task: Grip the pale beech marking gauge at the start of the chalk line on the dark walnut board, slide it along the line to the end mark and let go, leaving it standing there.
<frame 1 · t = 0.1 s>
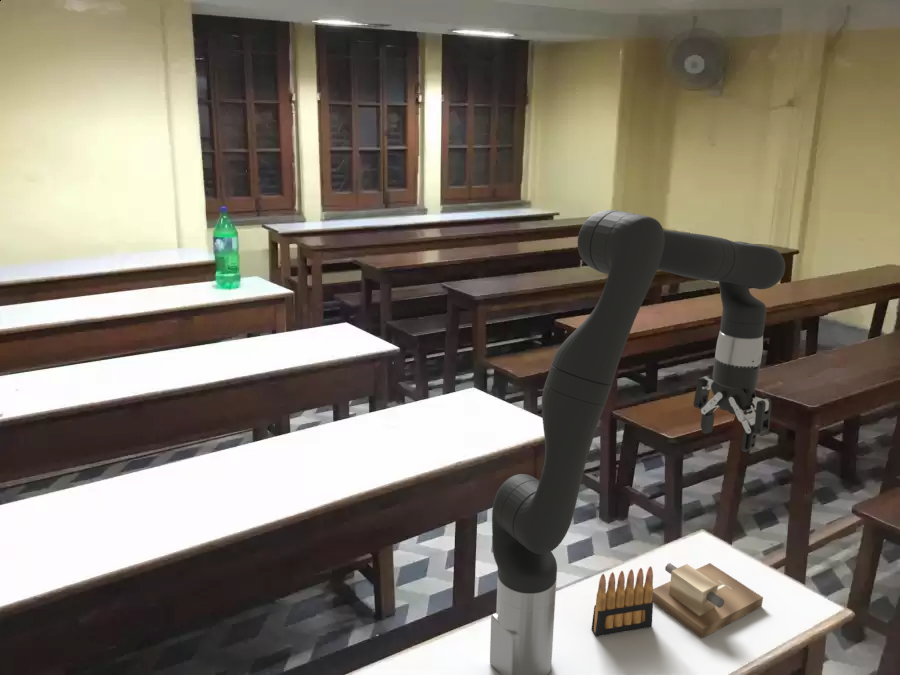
hand: (726, 441, 133), 29 cm above the table, tool pointing down, fingers open, 8 cm apart
marking gauge: (691, 601, 132), point 2 cm above the table, touching walnut board
ammunition clip: (621, 629, 129), on the table
walnut board: (705, 602, 135), on the table
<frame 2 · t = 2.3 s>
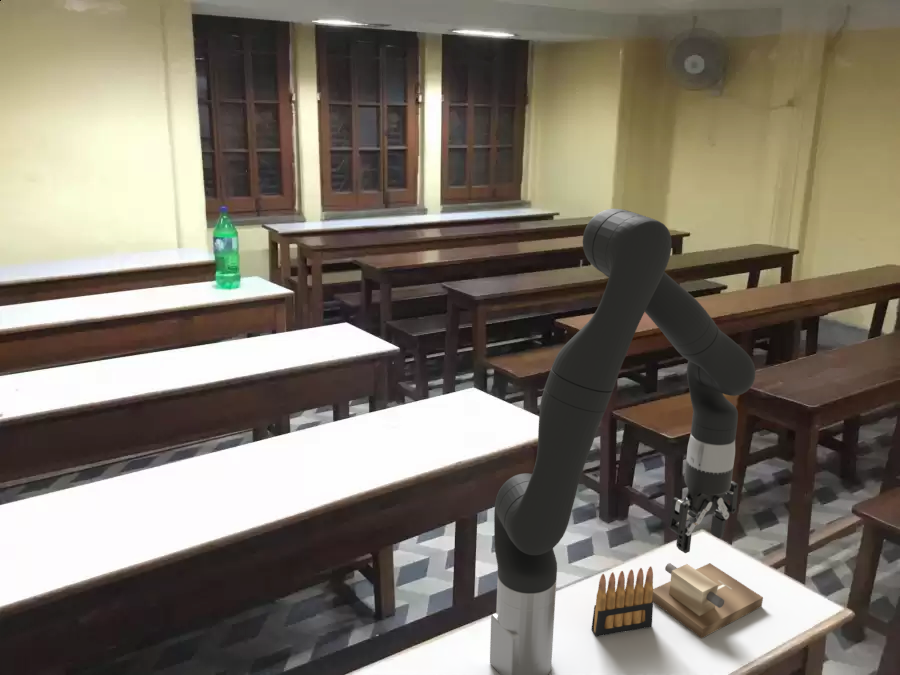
hand: (700, 542, 128), 14 cm above the table, tool pointing down, fingers open, 8 cm apart
nothing on the table moved.
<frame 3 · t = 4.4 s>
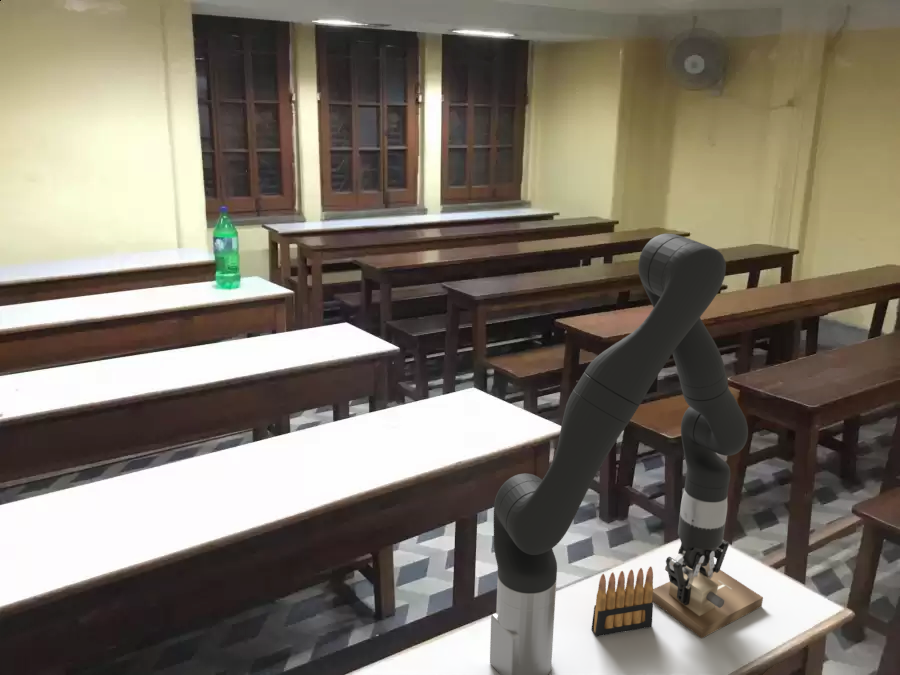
hand: (692, 597, 132), 3 cm above the table, tool pointing down, fingers closed on marking gauge, 4 cm apart
marking gauge: (691, 601, 132), point 2 cm above the table, touching gripper, walnut board
everything else where it was.
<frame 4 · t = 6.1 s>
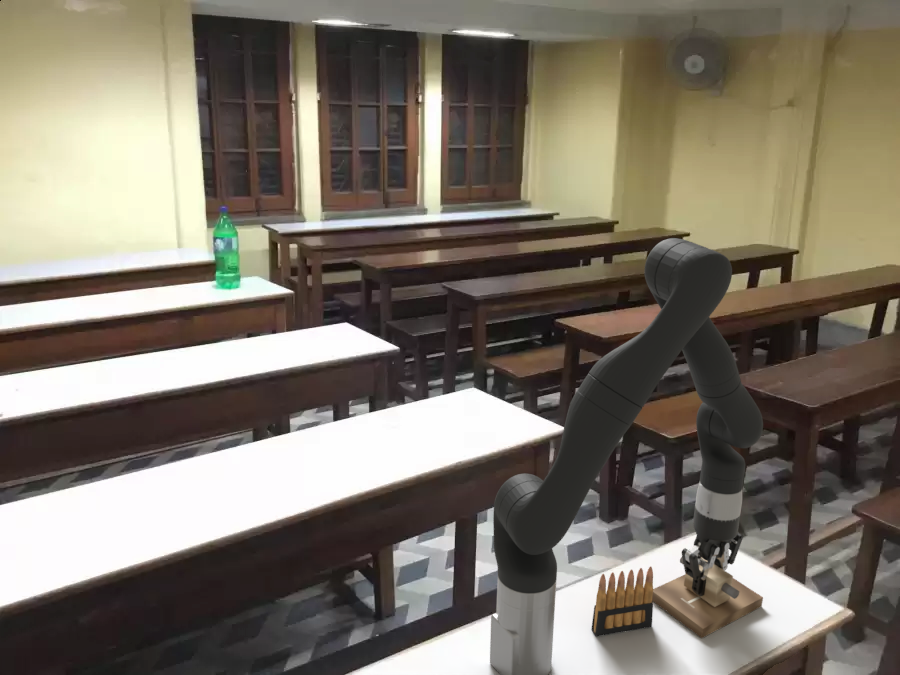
hand: (707, 588, 134), 3 cm above the table, tool pointing down, fingers closed on marking gauge, 4 cm apart
marking gauge: (706, 592, 134), point 2 cm above the table, touching gripper
everything else where it was.
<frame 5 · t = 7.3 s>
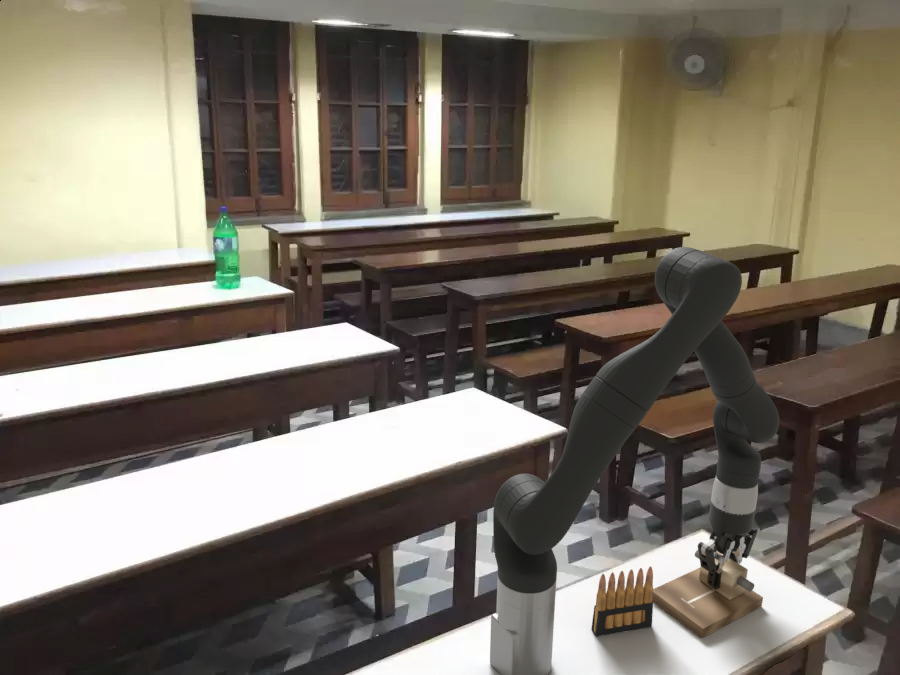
hand: (721, 582, 136), 3 cm above the table, tool pointing down, fingers closed on marking gauge, 4 cm apart
marking gauge: (721, 585, 136), point 2 cm above the table, touching gripper
everything else where it was.
when the fingers open (3 cm above the table, at t = 7.8 s): marking gauge stays where it is, resting on walnut board.
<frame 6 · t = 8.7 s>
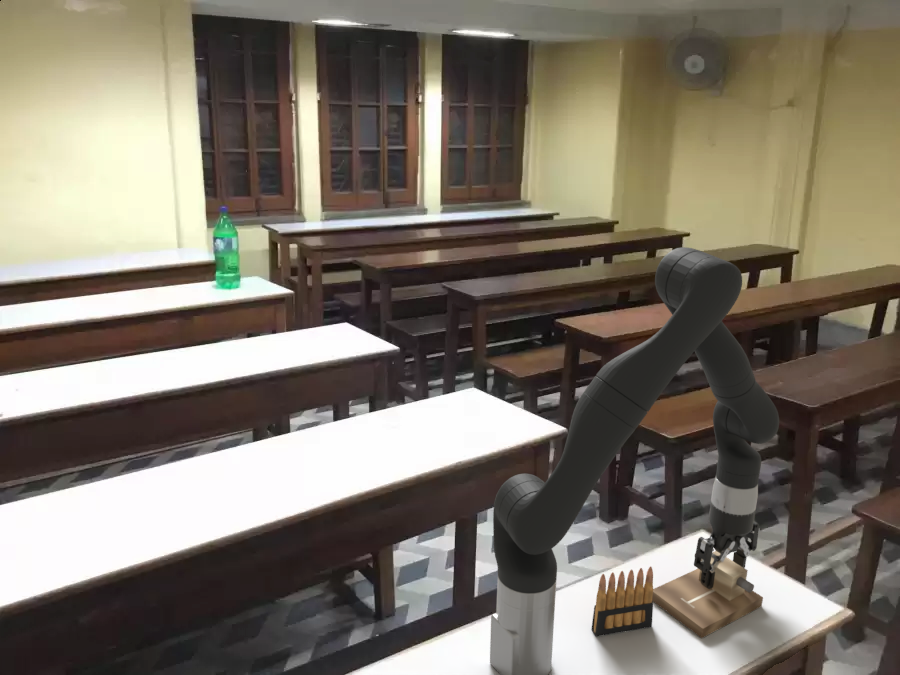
hand: (722, 578, 136), 4 cm above the table, tool pointing down, fingers open, 8 cm apart
marking gauge: (721, 586, 136), point 2 cm above the table, touching walnut board
everything else where it was.
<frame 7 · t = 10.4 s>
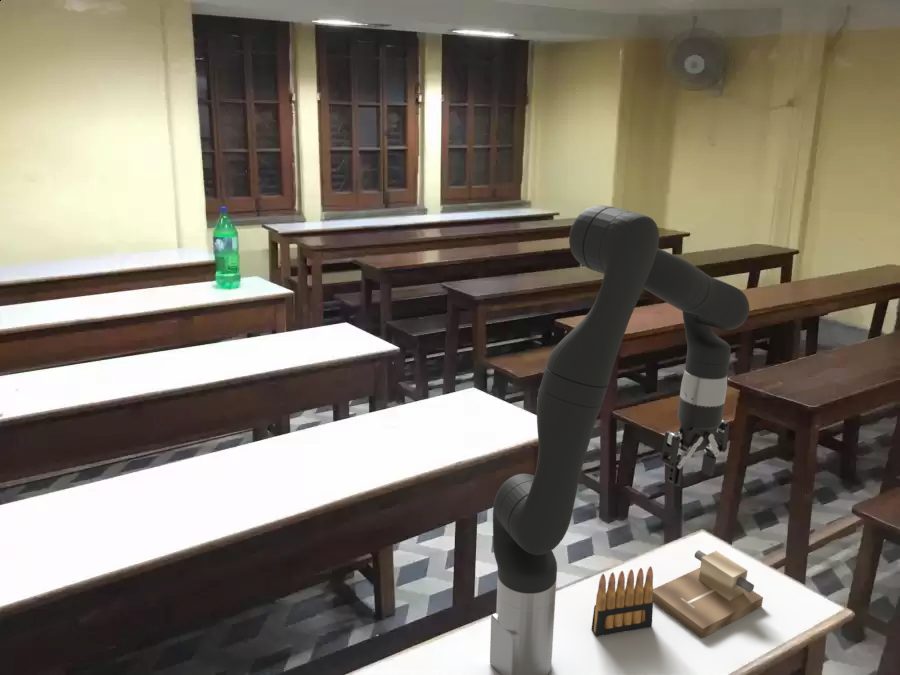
hand: (690, 478, 133), 23 cm above the table, tool pointing down, fingers open, 8 cm apart
nothing on the table moved.
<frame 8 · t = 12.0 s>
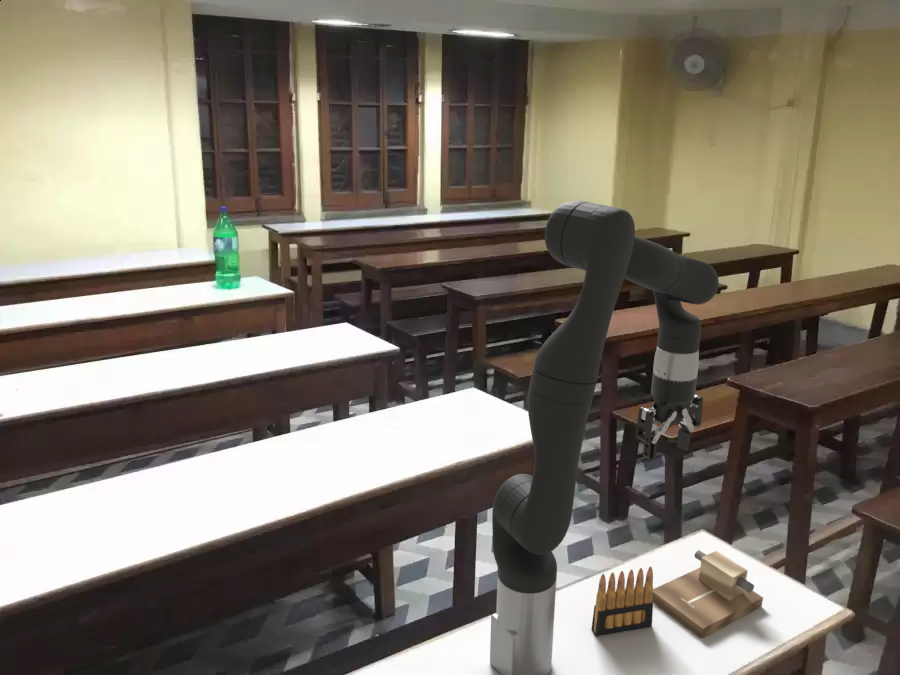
hand: (666, 454, 135), 26 cm above the table, tool pointing down, fingers open, 8 cm apart
nothing on the table moved.
at the end: marking gauge 0.1 cm from the target spot on the walnut board, point 2.0 cm above the walnut board's base; marking gauge tilted 0°; the gripper is holding nothing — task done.
